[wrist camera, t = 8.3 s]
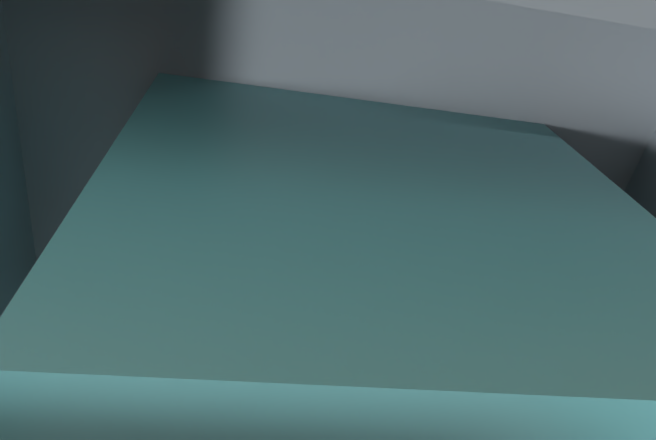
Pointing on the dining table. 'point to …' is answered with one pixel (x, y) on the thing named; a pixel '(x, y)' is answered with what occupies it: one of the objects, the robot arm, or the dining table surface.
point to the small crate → (334, 281)
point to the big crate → (312, 79)
